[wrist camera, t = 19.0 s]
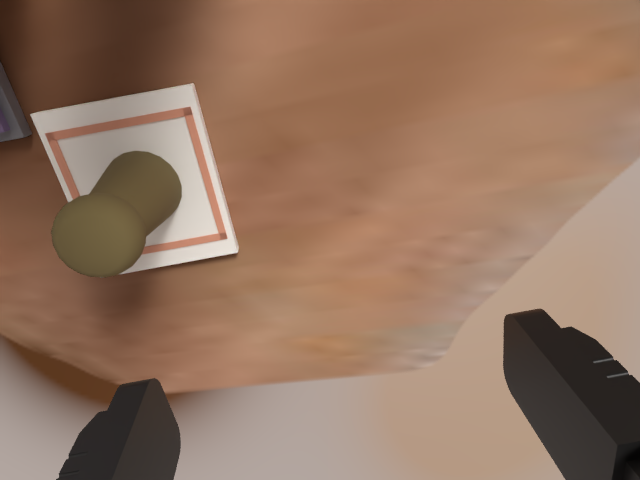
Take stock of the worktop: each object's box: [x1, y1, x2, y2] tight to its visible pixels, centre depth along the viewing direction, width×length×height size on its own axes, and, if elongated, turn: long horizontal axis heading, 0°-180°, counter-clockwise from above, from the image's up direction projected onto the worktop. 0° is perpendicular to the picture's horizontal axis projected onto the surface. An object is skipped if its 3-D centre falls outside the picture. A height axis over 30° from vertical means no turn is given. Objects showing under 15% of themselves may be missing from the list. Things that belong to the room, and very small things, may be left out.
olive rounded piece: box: [51, 151, 182, 277], centre depth 31 cm, size 6×6×11 cm
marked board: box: [30, 83, 239, 278], centre depth 36 cm, size 14×12×1 cm
